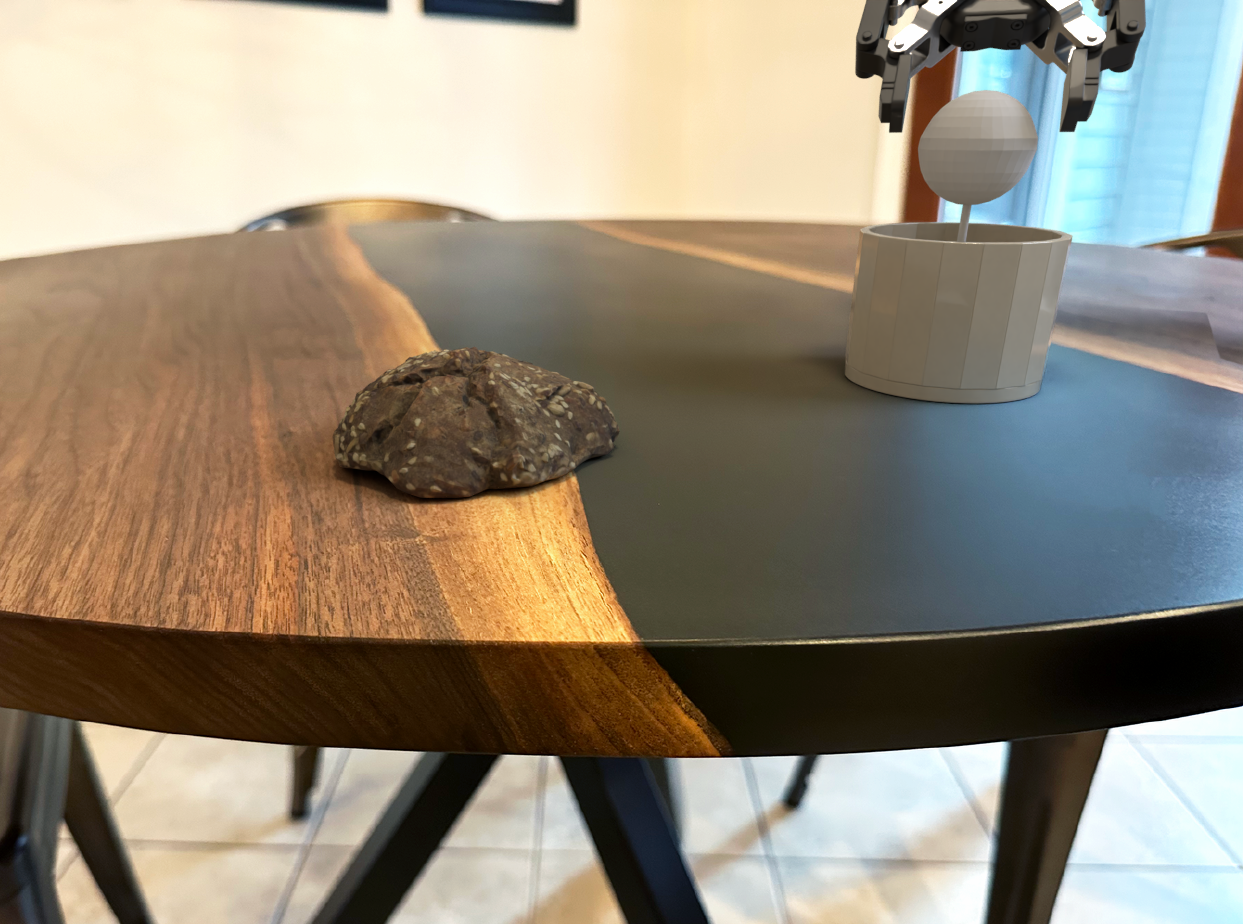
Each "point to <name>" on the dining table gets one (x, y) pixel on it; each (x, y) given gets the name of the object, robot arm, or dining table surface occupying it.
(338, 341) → the dining table surface
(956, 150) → the lollipop
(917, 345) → the white plant pot
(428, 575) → the dining table surface
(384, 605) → the dining table surface
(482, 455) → the bread roll
